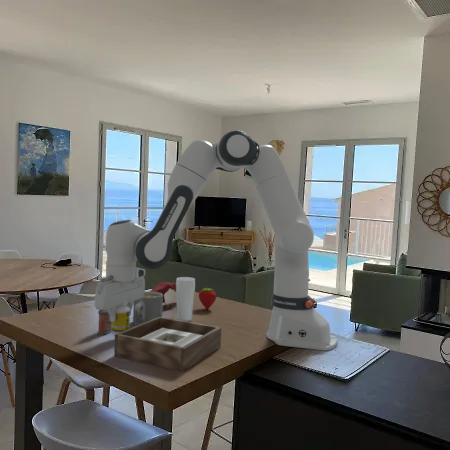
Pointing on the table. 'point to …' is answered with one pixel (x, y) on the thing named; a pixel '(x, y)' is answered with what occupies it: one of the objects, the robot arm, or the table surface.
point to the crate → (168, 343)
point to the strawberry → (207, 297)
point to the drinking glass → (185, 297)
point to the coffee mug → (147, 307)
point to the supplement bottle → (121, 318)
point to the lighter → (104, 323)
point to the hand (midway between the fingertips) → (120, 318)
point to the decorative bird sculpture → (164, 288)
